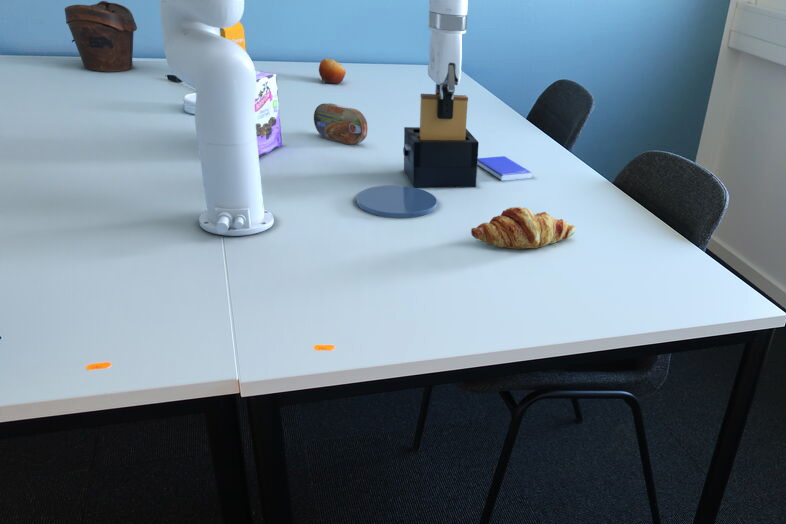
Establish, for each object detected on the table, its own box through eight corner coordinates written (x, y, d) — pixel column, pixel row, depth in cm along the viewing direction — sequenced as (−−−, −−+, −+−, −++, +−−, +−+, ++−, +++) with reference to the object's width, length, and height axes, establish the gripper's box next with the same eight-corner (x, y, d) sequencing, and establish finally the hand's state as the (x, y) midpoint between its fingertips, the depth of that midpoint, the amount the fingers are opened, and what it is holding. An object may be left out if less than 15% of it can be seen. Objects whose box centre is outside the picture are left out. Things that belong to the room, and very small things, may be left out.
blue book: (532, 171, 174) (505, 155, 183) (501, 174, 170) (476, 158, 179) (531, 178, 175) (505, 162, 184) (501, 181, 171) (476, 164, 180)
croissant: (564, 248, 150) (561, 208, 150) (588, 244, 141) (585, 201, 140) (465, 254, 142) (461, 211, 141) (483, 250, 133) (479, 204, 132)
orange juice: (208, 80, 221) (198, 6, 211) (227, 75, 228) (219, 3, 218) (231, 84, 219) (223, 10, 209) (249, 79, 227) (242, 7, 216)
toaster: (475, 187, 166) (478, 142, 161) (407, 188, 161) (408, 141, 156) (463, 171, 174) (465, 127, 169) (398, 171, 169) (398, 127, 164)
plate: (441, 218, 148) (441, 213, 148) (358, 217, 144) (358, 212, 144) (432, 190, 161) (432, 186, 161) (355, 188, 157) (355, 184, 157)
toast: (465, 147, 162) (468, 97, 157) (420, 146, 159) (422, 95, 153) (462, 144, 163) (465, 95, 158) (419, 144, 160) (420, 93, 155)
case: (132, 59, 233) (121, -4, 224) (152, 73, 221) (141, 7, 212) (67, 61, 223) (53, -5, 214) (84, 76, 211) (70, 6, 201)
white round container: (226, 116, 192) (225, 102, 190) (184, 115, 188) (182, 101, 187) (225, 106, 200) (223, 92, 198) (184, 105, 196) (182, 91, 194)
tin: (313, 135, 186) (311, 100, 182) (322, 132, 188) (320, 98, 184) (361, 148, 181) (360, 113, 176) (369, 146, 183) (369, 111, 179)
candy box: (252, 161, 165) (244, 84, 156) (227, 157, 165) (218, 80, 157) (283, 145, 176) (277, 72, 168) (260, 141, 177) (253, 69, 168)
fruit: (310, 74, 234) (323, 51, 233) (333, 88, 239) (345, 66, 237) (315, 80, 228) (328, 57, 227) (338, 94, 233) (351, 71, 231)
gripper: (420, 15, 153) (418, 106, 163) (438, 28, 141) (434, 126, 150) (456, 17, 156) (452, 108, 165) (476, 31, 143) (470, 127, 153)
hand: (443, 116), depth 158 cm, fingers closed on toast, 2 cm apart
